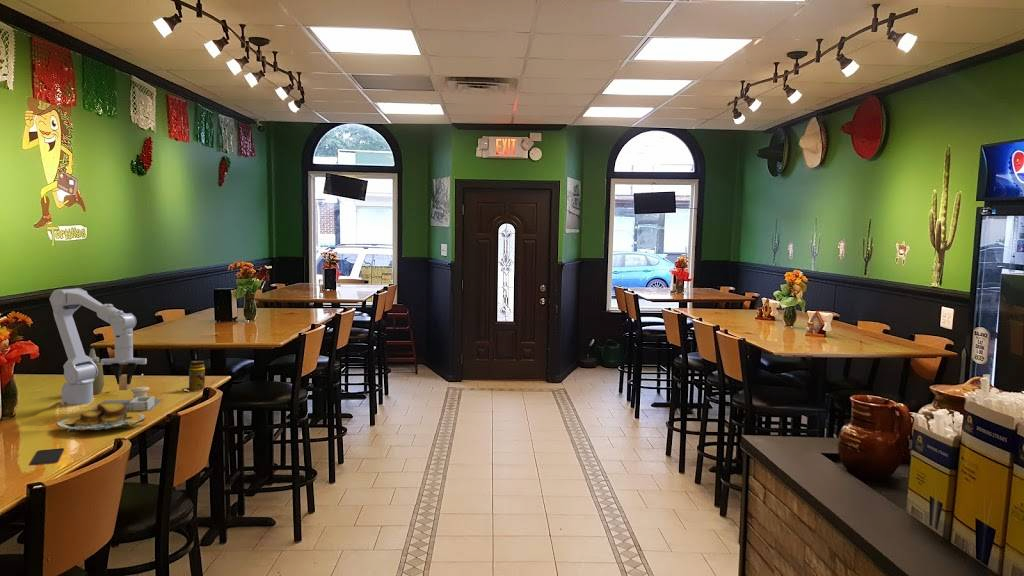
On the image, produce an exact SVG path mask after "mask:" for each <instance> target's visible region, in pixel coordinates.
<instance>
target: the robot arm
mask: <svg viewBox="0 0 1024 576" xmlns="http://www.w3.org/2000/svg"><path fill="white" fill-rule="evenodd" d="M48 298H49V302H50V306H51V307H52V311H53V317H54V321H55V323H56V327H57V329H58V332H59V336H60V338H61V339H60V340H61V342H62V344H63V348H64V350H65V354H66V357H67V361H66V362H65V363H64V364H63V377H64V379H65V381H66V382H65V383H63V384H62V387H61V405H62V406H63V405H75V406H76V405H78V406H79V405H88V404H92V403H93V402H94V394H93V381H95V378H96V377H97V375H98V368H97V366H96V365H95V364H94V362H93V359H92V358H90V357H89V355H86V353H85V350H84V348H83V344H82V341H81V338H80V335H79V332H78V329H77V326H76V322H75V320H74V317H73V315H74V313H75V312H76V311H77V310H78V309H80V307H81V306H83V307H85V308H87V309H89V310H91V311H93V312H95V313H96V316H97V318H99V319H101V320H102V321H104V322H105V323H107V324H108V325H109V324H110V327H111V330H112V331H113V332H112V334H113V335H114V357H112V358H111V357H110V358H102V359H100V363H101V365H102V366H104V365H107V366H108V365H110V368H109V369H110V370H111V371H112V373H113V374H114V375H113V376H114V377H115V381H116V382H117V385H118V386H119V376H121V375H122V369H123V365H125V368H126V369H125V370H126V374H127V384H130V385H131V383H132V379H133V375H134V372H135V371H136V369H137V366H138V365H147V364H148V363H147V362H148V360H147V358H146V357H145V358H144V357H134V328H135V327H136V326H137V322H138V321H137V317H136V316H135V315H134V314H133V313H132V312H128V313H125V312H124V311H123V310H122V309H121V310H120V309H117V308H116V307H114V304H112V303H104V304H103V303H101V302H100V301H98V300H96V298H93V296H91V295H90V294H88V291H87V290H84V289H82V288H81V287H75V288H63V289H60V288H59V289H55V290H53V291H52V293H51V295H50V297H48Z"/></svg>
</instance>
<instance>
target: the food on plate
mask: <svg viewBox="0 0 1024 576" xmlns="http://www.w3.org/2000/svg"><path fill="white" fill-rule="evenodd" d="M97 405H98V406H97ZM97 405H96V406H97V409H94V410H92V409H91V410H90V409H89V410H86V411H82V412H81V414H80V418H77V419H75V420H74V422H73V423H66V424H65V422H68V421H70V419H72V417H70V418H65V419H62V420H61V421H58V422H57V423H55V426H56V427H57V428H59V427H61V428H65V429H68V430H67V432H70V430H71V431H79V430H80V431H86V430H91V431H92V430H93V431H97V430H98V431H100V430H103V429H105V430H108V429H111V428H112V427H117V426H122V427H125V426H127V425H128V426H129V425H132V424H137V423H139V422H141V421H145V420H146V418H147V416H146V415H145V414H142V413H139V416H140V418H139V419H137V420H133V421H128V420H132V419H133V416H127V415H128V411H127V409H126V406H125V405H124V404H122V403H117V402H109V403H102V402H99V403H98V404H97Z"/></svg>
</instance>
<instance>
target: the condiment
mask: <svg viewBox="0 0 1024 576" xmlns="http://www.w3.org/2000/svg"><path fill="white" fill-rule="evenodd" d="M205 385H206V368H205V362H204V360H191V361H190V362H189V368H188V387H182V390H183V389H187V390H189V391H187V392H186V393H190V392H196V391H195V390H201V391H200V392H203V391H202V389H203V388H204V387H205V388H206V386H205Z"/></svg>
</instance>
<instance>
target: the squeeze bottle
mask: <svg viewBox="0 0 1024 576" xmlns="http://www.w3.org/2000/svg"><path fill="white" fill-rule="evenodd" d="M88 357H90V358H92V359H93V362H94V364H95V365H96V366H97V368H98V375H97V377H96V378H95V381H93V395H97V394H101V393H102V391H103V388H104V386H105V379H104V370H103V365H101V361H100V357H99V356H97V355H96V351H95V348H90V351H89V354H88Z"/></svg>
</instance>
